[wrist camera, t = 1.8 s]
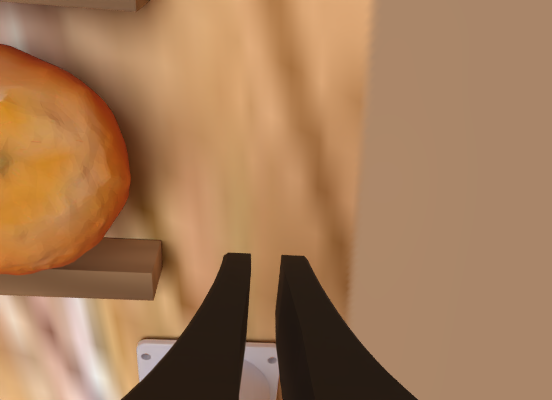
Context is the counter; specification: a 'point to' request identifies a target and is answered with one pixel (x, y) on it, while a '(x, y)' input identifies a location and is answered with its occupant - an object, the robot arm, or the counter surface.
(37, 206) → the fruit
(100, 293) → the chute
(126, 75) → the counter surface
